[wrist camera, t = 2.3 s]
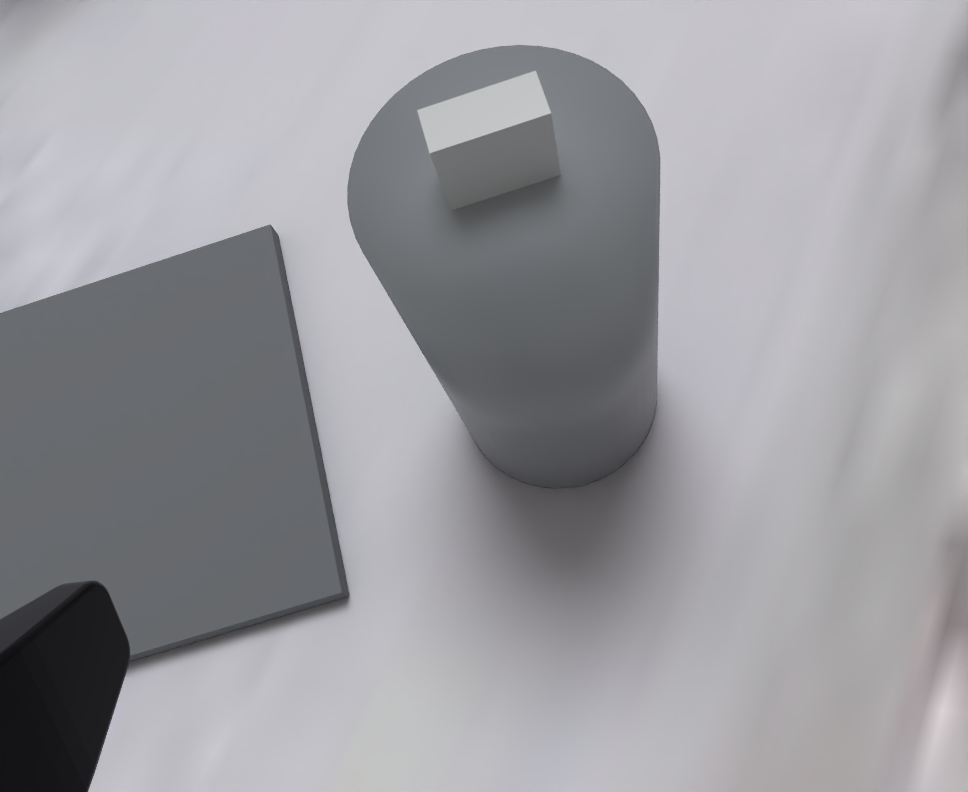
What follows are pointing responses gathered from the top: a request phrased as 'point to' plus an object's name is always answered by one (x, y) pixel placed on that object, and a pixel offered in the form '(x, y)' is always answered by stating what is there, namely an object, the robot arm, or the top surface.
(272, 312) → the charcoal mat
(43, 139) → the top surface
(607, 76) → the grey bottle
